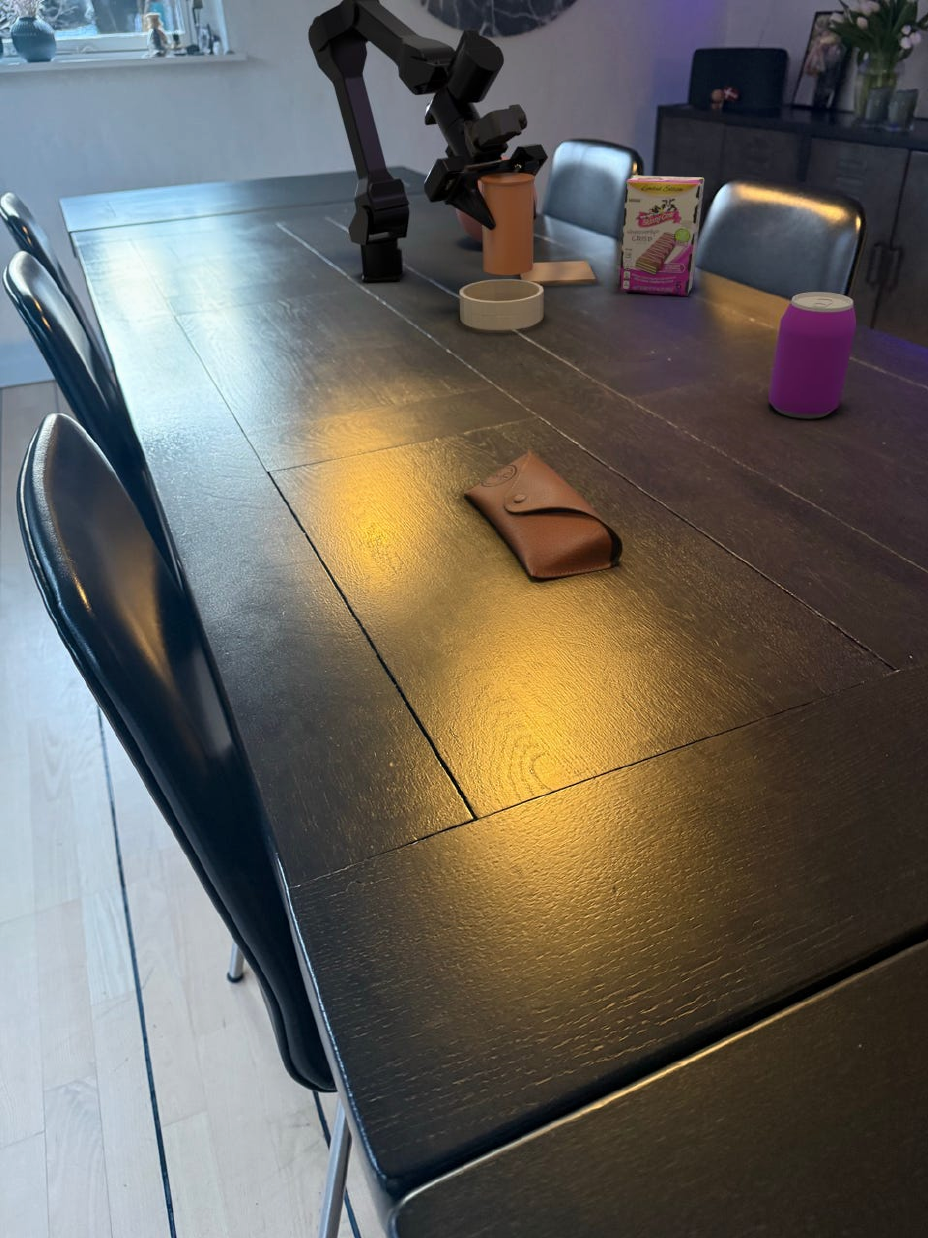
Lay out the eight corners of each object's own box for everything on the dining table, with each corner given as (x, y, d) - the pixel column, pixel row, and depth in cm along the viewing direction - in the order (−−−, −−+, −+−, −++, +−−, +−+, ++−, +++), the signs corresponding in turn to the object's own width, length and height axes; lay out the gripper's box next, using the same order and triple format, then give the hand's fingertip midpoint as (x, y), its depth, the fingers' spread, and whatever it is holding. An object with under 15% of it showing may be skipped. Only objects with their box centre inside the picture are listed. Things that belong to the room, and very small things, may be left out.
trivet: (522, 287, 148) (522, 281, 147) (518, 269, 157) (519, 263, 157) (595, 284, 147) (595, 278, 147) (587, 266, 157) (587, 260, 157)
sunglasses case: (455, 490, 87) (487, 428, 85) (513, 510, 91) (544, 452, 88) (532, 581, 73) (573, 510, 71) (596, 601, 77) (637, 535, 74)
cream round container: (460, 335, 128) (459, 303, 125) (460, 310, 138) (459, 280, 135) (545, 332, 128) (546, 300, 125) (540, 307, 138) (540, 277, 135)
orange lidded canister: (484, 276, 127) (482, 183, 120) (481, 263, 133) (479, 173, 126) (536, 273, 127) (537, 180, 120) (530, 260, 133) (531, 171, 126)
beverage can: (828, 425, 97) (851, 314, 91) (758, 413, 101) (775, 305, 94) (845, 402, 103) (868, 294, 96) (778, 391, 106) (795, 286, 99)
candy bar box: (617, 293, 143) (624, 180, 133) (623, 285, 146) (630, 174, 137) (689, 297, 139) (701, 181, 130) (693, 288, 143) (705, 175, 134)
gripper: (431, 89, 115) (487, 193, 114) (540, 77, 124) (592, 174, 123) (400, 152, 124) (452, 249, 123) (503, 136, 133) (552, 227, 132)
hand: (514, 223), depth 125 cm, fingers closed on orange lidded canister, 7 cm apart
